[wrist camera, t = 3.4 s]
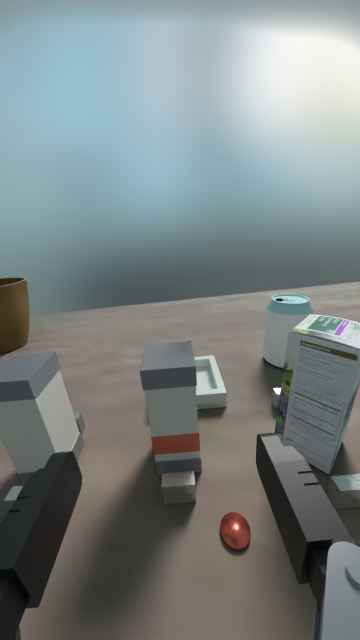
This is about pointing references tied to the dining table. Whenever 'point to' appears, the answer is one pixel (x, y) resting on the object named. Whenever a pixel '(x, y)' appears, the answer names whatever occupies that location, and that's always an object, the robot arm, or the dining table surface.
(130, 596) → the dining table surface
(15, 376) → the block
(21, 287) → the plant pot
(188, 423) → the marked fuse
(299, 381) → the syrup box
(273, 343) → the can
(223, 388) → the tray
